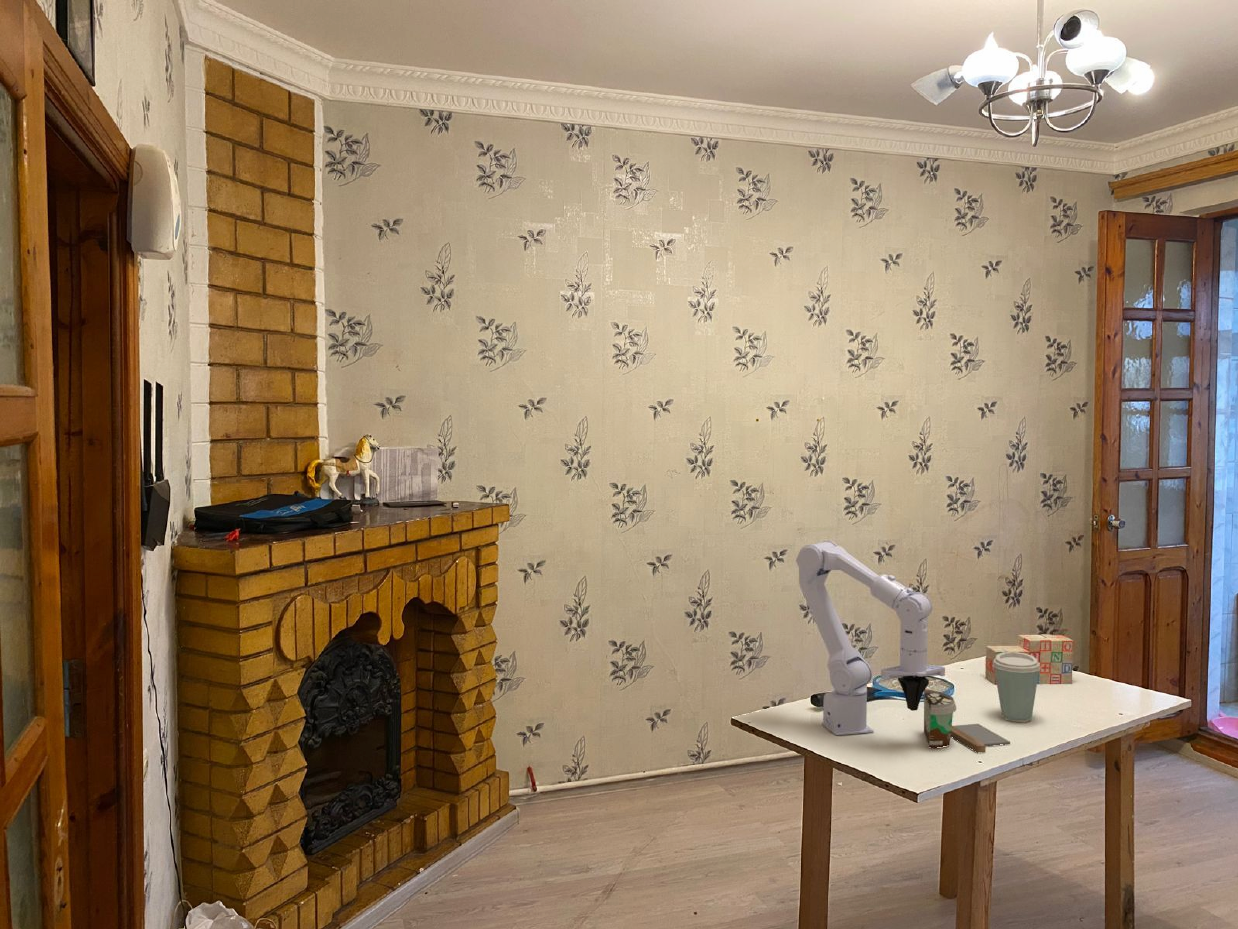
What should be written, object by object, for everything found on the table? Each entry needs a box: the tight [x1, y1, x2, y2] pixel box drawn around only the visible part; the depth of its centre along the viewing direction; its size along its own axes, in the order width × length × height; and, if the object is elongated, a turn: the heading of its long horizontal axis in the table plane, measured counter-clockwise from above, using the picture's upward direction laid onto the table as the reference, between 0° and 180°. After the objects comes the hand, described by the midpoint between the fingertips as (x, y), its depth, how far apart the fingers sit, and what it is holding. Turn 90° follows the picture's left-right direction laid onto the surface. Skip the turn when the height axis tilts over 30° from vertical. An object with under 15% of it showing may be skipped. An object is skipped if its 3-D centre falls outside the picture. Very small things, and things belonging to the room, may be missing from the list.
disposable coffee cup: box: [993, 652, 1041, 723], centre depth 219 cm, size 11×11×15 cm
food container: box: [923, 689, 957, 749], centre depth 204 cm, size 12×6×10 cm, turn 168°
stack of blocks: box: [984, 634, 1074, 686], centre depth 249 cm, size 21×6×12 cm, turn 92°
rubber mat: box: [952, 723, 1011, 747], centre depth 208 cm, size 8×12×1 cm, turn 12°
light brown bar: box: [951, 725, 987, 754], centre depth 206 cm, size 2×16×2 cm, turn 12°
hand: (912, 709), depth 203 cm, fingers closed
